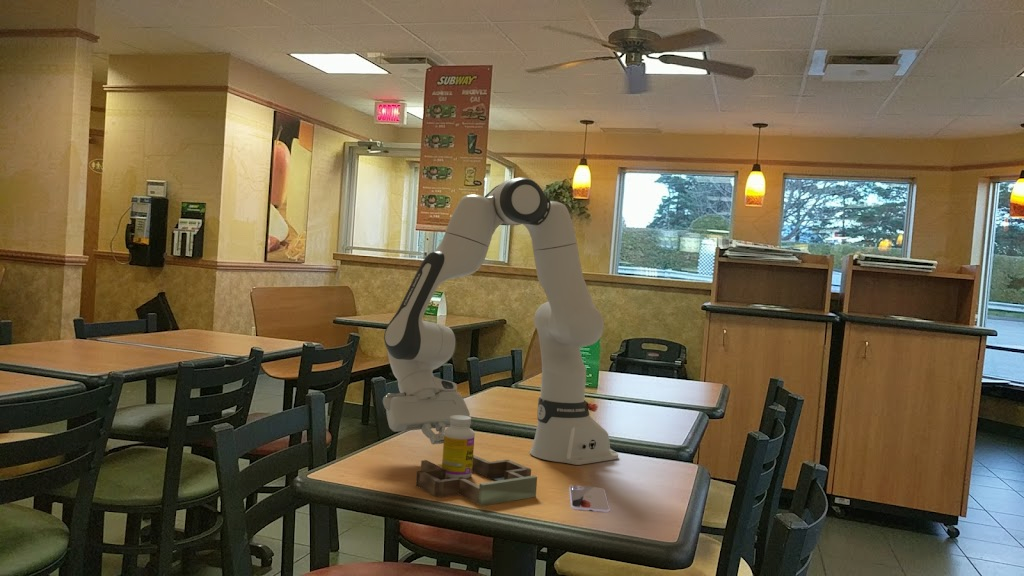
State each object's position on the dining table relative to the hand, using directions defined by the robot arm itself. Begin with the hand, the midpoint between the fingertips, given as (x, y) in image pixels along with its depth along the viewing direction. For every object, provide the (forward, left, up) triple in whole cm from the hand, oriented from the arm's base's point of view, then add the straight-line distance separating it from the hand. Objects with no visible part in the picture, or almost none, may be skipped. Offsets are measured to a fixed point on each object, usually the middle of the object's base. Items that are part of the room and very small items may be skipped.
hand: (439, 442), depth 164 cm
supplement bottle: (-1, +8, -6) cm, 10 cm away
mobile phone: (-21, +30, -6) cm, 37 cm away
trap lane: (-3, +15, -5) cm, 16 cm away
